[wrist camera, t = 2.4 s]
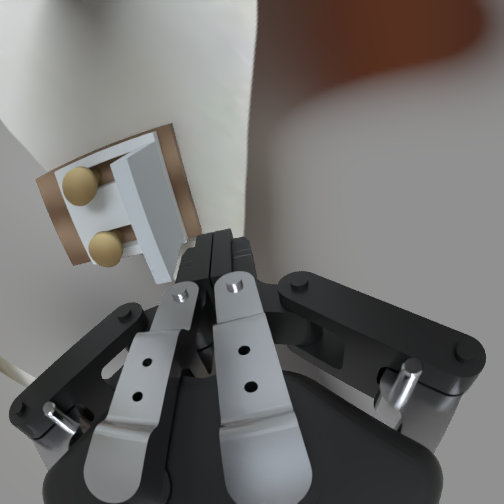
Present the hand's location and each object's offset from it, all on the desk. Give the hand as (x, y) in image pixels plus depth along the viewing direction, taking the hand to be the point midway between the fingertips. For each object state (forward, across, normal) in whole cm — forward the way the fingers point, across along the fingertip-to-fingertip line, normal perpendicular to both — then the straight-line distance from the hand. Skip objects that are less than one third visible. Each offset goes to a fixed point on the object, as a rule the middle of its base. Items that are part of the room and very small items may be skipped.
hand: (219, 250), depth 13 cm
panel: (+13, +10, 0) cm, 16 cm away
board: (+15, +12, 0) cm, 19 cm away
